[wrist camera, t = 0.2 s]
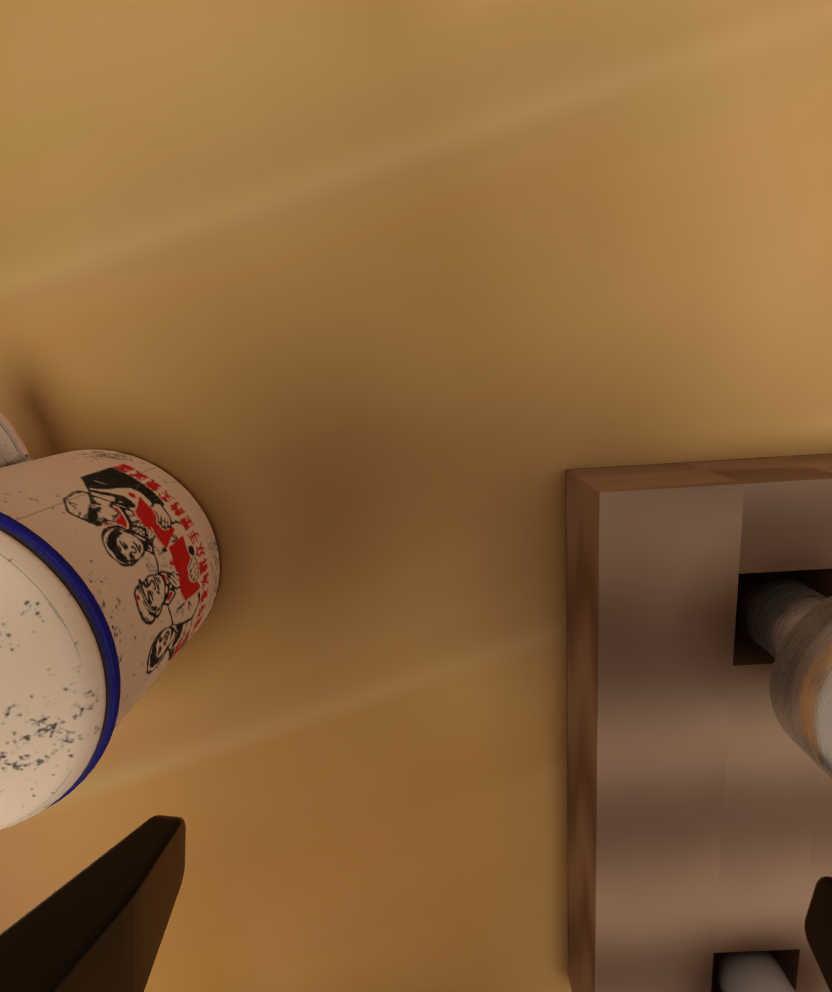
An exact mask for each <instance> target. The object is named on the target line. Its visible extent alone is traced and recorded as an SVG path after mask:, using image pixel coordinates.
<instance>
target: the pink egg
mask: <svg viewBox="0 0 832 992" xmlns="http://www.w3.org/2000/svg"><path fill="white" fill-rule="evenodd" d="M715 977H716V980H717V983H718V985H719V987H720V989H721V991H722V992H795V990H794V989H793V987H792V985H791V984H790V982H789V980H788V979H787V977H786V975H785V974H784V972H783V970H782V969H781V967H780V966H779V964H778V962H777V961H776V959H775V957H774V956H773V955H772V954H771V953H770V952H769V951H747V952H729V953H727V954H726V955H725V956H724V957H723V958H722V959H721V960H720V961H719V963H718V965H717V967H716V971H715Z"/></svg>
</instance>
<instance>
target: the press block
mask: <svg viewBox="0 0 832 992" xmlns="http://www.w3.org/2000/svg"><path fill="white" fill-rule="evenodd" d="M566 503H567V761H568V976H569V980H570V984H571V988H572V992H722V991H721V989H720V987H719V985H718V983H717V980H716V977H715V971H716V967H717V965H718V963H719V961H720V960H721V959H722V958H723V957H724V956H725V955H726V954H727V953H729V952H747V951H769V952H770V953H771V954H772V955H773V956H774V957H775V959H776V961H777V962H778V964H779V966H780V967H781V969H782V970H783V972H784V974H785V975H786V977H787V979H788V980H789V982H790V984H791V985H792V987H793V989H794V990H795V992H830V990H829V988H828V986H827V984H826V982H825V979H824V977H823V975H822V973H821V971H820V968H819V966H818V964H817V962H816V960H815V957H814V955H813V953H812V951H811V949H810V946H809V944H808V941H807V938H806V934H805V928H804V923H805V917H806V914H807V911H808V908H809V905H810V901H811V898H812V895H813V892H814V889H815V885H816V883H817V881H818V880H819V879H820V878H821V877H824V876H830V877H832V779H831V778H830V777H829V776H828V775H827V774H826V773H825V772H824V771H823V770H822V769H821V768H820V767H819V766H818V765H817V764H816V763H815V762H814V761H813V760H812V759H811V758H810V757H809V756H808V755H807V754H806V753H805V752H804V751H803V750H802V749H801V748H800V747H799V746H798V745H797V744H796V743H795V742H794V741H793V740H792V739H791V738H790V737H789V736H788V735H787V734H786V733H785V731H784V730H783V728H782V727H781V725H780V724H779V722H778V720H777V718H776V716H775V714H774V711H773V707H772V704H771V698H770V677H771V670H772V666H773V663H774V659H775V658H774V657H773V656H772V655H771V654H770V653H768V652H767V651H766V650H765V649H763V648H762V647H761V646H760V645H758V644H757V643H756V642H755V641H754V640H752V639H751V638H750V637H749V636H748V635H747V634H746V633H745V632H744V630H743V628H742V626H741V623H740V611H736V607H737V592H738V577H739V574H743V573H761V572H762V582H763V581H765V580H768V579H771V578H776V577H787V578H791V579H794V580H797V581H799V582H800V583H802V584H804V585H806V586H808V587H809V588H811V589H813V590H815V591H816V592H818V593H820V594H822V595H824V596H825V597H827V598H828V597H830V596H832V454H819V455H802V456H785V457H769V458H752V459H735V460H719V461H702V462H685V463H669V464H652V465H635V466H619V467H602V468H585V469H569V470H566Z"/></svg>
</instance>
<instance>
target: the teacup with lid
mask: <svg viewBox="0 0 832 992" xmlns="http://www.w3.org/2000/svg"><path fill="white" fill-rule="evenodd" d="M219 573H220V564H219V554H218V547H217V544H216V540H215V536H214V533H213V531H212V528H211V525H210V523H209V521H208V519H207V517H206V515H205V514H204V512H203V510H202V509H201V507H200V506H199V504H198V503H197V502H196V500H195V499H194V498H193V496H192V495H191V494H190V493H189V492H188V491H187V490H186V489H185V488H184V487H183V486H182V485H181V484H180V483H179V482H178V481H177V480H175V479H174V478H173V477H172V476H170V475H169V474H168V473H166V472H165V471H163V470H161V469H160V468H158V467H157V466H155V465H153V464H151V463H149V462H147V461H145V460H142V459H140V458H137V457H135V456H132V455H128V454H125V453H121V452H116V451H110V450H97V449H87V450H76V451H70V452H65V453H61V454H56V455H52V456H48V457H44V458H40V459H35V460H33V459H32V458H31V456H30V454H29V452H28V450H27V448H26V447H25V445H24V443H23V441H22V440H21V438H20V436H19V435H18V433H17V432H16V430H15V429H14V427H13V426H12V424H11V423H10V422H9V420H8V419H7V418H6V417H5V416H4V414H3V413H2V412H1V411H0V830H1V829H4V828H7V827H9V826H12V825H15V824H18V823H20V822H22V821H24V820H27V819H29V818H31V817H33V816H34V815H36V814H38V813H39V812H41V811H43V810H45V809H46V808H48V807H50V806H51V805H53V804H55V803H56V802H58V801H60V800H61V799H62V798H64V797H65V796H66V795H68V794H69V793H70V792H71V791H73V790H74V789H75V788H76V787H77V786H78V785H79V784H80V783H81V782H82V781H83V780H84V779H85V778H86V777H87V775H88V774H89V773H90V772H91V771H92V769H93V768H94V767H95V765H96V764H97V762H98V761H99V759H100V758H101V756H102V755H103V753H104V751H105V749H106V747H107V745H108V743H109V741H110V738H111V736H112V733H113V730H114V728H115V727H116V726H117V725H118V724H119V723H120V721H121V720H122V719H123V718H124V717H125V715H126V714H127V713H128V712H129V711H130V709H131V708H132V707H133V706H134V705H135V704H136V702H137V701H138V700H139V699H140V698H141V696H142V695H143V694H144V693H145V692H146V690H147V689H148V688H149V687H150V686H151V685H152V683H153V682H154V681H155V680H156V679H157V677H158V676H159V675H160V674H161V673H162V671H163V670H164V669H165V668H166V667H167V666H168V664H169V663H170V662H171V661H172V660H173V658H174V657H175V656H176V655H177V654H178V652H179V651H180V650H181V649H182V648H183V647H184V645H185V644H186V643H187V642H188V641H189V639H190V638H191V637H192V636H193V635H194V633H195V632H196V631H197V630H198V629H199V627H200V626H201V625H202V623H203V622H204V620H205V619H206V617H207V615H208V613H209V611H210V610H211V608H212V605H213V602H214V600H215V597H216V593H217V589H218V583H219Z"/></svg>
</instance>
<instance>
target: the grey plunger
mask: <svg viewBox="0 0 832 992" xmlns="http://www.w3.org/2000/svg"><path fill="white" fill-rule="evenodd" d="M740 623H741V626H742V628H743V630H744V632H745V633H746V634H747V635H748V636H749V637H750V638H751V639H752V640H754V641H755V642H756V643H757V644H758V645H760V646H761V647H762V648H763V649H765V650H766V651H767V652H768V653H770V654H771V655H772V656H773V657H774V658H775V659H774V663H773V666H772V670H771V677H770V698H771V704H772V707H773V711H774V714H775V716H776V718H777V720H778V722H779V724H780V725H781V727H782V728H783V730H784V731H785V733H786V734H787V735H788V736H789V737H790V738H791V739H792V740H793V741H794V742H795V743H796V744H797V745H798V746H799V747H800V748H801V749H802V750H803V751H804V752H805V753H806V754H807V755H808V756H809V757H810V758H811V759H812V760H813V761H814V762H815V763H816V764H817V765H818V766H819V767H820V768H821V769H822V770H823V771H824V772H825V773H826V774H827V775H828V776H829V777H830V778H831V779H832V596H830V597H828V598H827V597H825V596H824V595H822V594H820V593H818V592H816V591H815V590H813V589H811V588H809V587H808V586H806V585H804V584H802V583H800V582H799V581H797V580H794V579H791V578H787V577H776V578H771V579H768V580H765V581H763V582H761V583H759V584H758V585H756V586H755V587H754V588H752V589H751V590H750V591H749V592H748V594H747V595H746V596H745V598H744V600H743V602H742V604H741V608H740Z"/></svg>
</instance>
